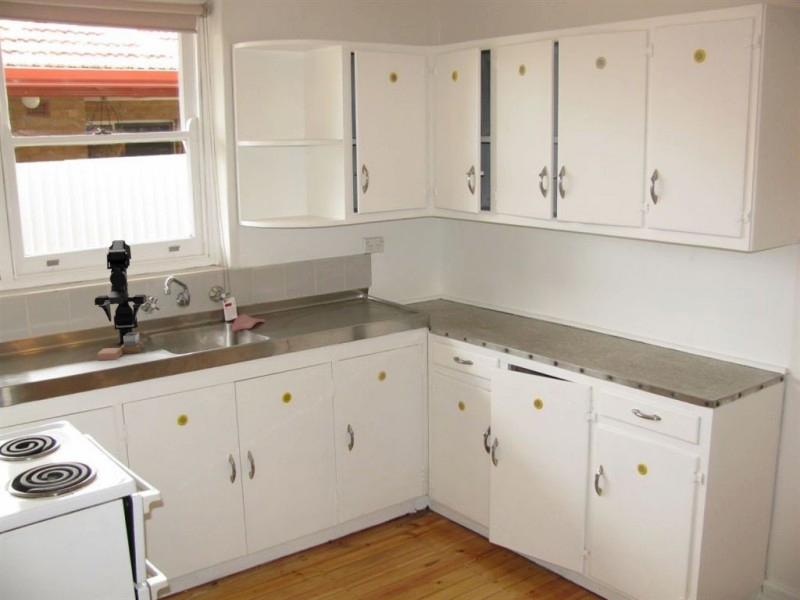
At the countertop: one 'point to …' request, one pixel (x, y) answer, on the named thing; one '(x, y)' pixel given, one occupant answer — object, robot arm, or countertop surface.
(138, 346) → the stand
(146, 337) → the countertop surface
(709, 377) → the countertop surface
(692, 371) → the countertop surface
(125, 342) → the housing
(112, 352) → the stand
